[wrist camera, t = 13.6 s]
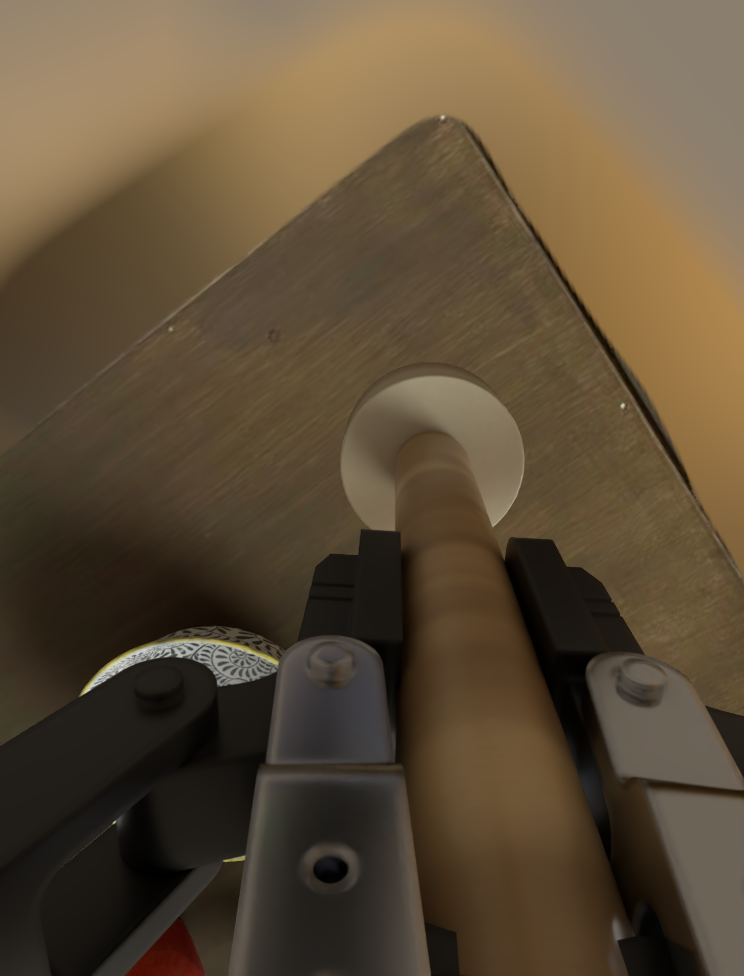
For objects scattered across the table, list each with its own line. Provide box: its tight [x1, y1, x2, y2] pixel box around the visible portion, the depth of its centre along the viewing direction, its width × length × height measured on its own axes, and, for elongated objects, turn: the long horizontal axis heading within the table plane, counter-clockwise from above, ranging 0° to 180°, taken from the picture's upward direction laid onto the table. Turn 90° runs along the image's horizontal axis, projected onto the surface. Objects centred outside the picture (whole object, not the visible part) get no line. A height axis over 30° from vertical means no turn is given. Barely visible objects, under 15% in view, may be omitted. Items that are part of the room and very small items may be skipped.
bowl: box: [79, 626, 285, 862], centre depth 41 cm, size 16×16×8 cm
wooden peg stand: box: [340, 363, 635, 976], centre depth 12 cm, size 5×5×16 cm
